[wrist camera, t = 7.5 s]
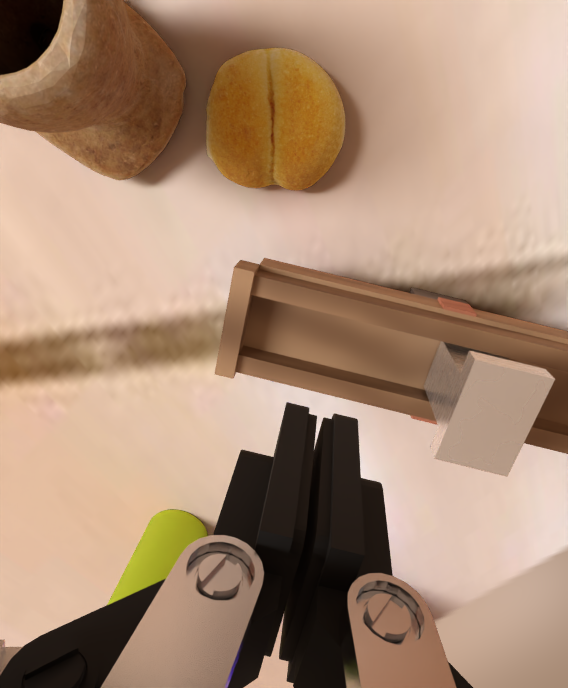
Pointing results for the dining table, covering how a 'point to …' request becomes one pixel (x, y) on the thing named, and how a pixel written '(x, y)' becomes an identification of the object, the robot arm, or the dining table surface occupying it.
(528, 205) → the dining table surface
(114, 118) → the stone cup
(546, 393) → the rider
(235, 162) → the bread roll
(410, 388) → the beam
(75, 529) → the dining table surface
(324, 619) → the robot arm
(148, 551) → the soap dispenser
